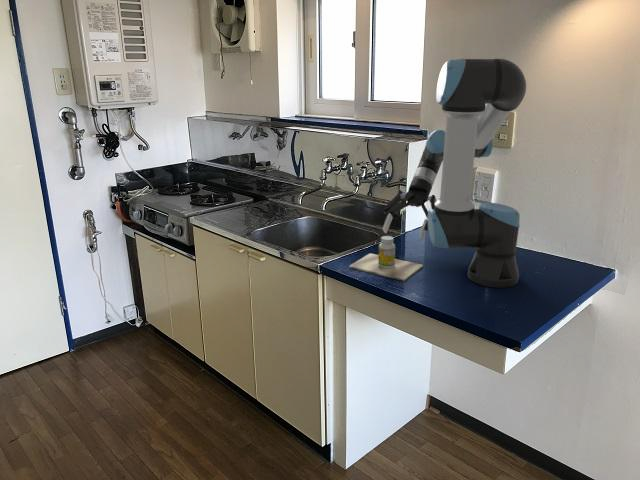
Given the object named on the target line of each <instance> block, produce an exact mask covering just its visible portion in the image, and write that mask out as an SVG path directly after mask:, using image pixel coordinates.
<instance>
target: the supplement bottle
mask: <svg viewBox="0 0 640 480" xmlns="http://www.w3.org/2000/svg"><path fill="white" fill-rule="evenodd" d="M380 241H381V242H380V243H379V244H378V255H379V259H378V265H379V266H380V267H383V268H392V267H394V265H395V259H396V244H395V243H394V237H393V236H390V235H383V236H381V237H380Z"/></svg>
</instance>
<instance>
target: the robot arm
mask: <svg viewBox="0 0 640 480" xmlns="http://www.w3.org/2000/svg"><path fill="white" fill-rule="evenodd" d="M526 92H527V81H526V77H525V74H524V73H523V71H522V69H521V68H520V67H519V66H518V65H517V64H515V62H513V61H511V60H509V59H504V58H459V59H457V58H456V59H450V60H449V59H448V60H447V61H445V63H444V64H443V65H442V67H441V69H440V72H439V76H438V79H437V84H436V90H435V94H436V96H435V100H436V103H437V105H440V106H441V111H442V113H443V114H444V115H445V116H446V118H445V119H446V120H445V121H446V122H445V130H444V129H436V130H434V131H433V132H431V133H430V135H429V136H428V138H427V139H426V143H425V147H424V149H423V152H422V155H421V157H420V159H419V163H418V164H417V167H416V170H415V172H414V174H413V177H412V180H411V182H410V184H409V187H408V190H407V192H404V191H402V190H401V189H400V190H398V192H397V194H396V195H395V196H394V197H393V198H392V199H391V200H390V201H389V202H388V203H387V204H386V205H385V206H384V207H383V208H382V211H383V213H384V214H385V215H384V216H385V217H384V219H383V222H384V224H383V226H382V228H381V229H382V231H383V233H385V234H387V233H388V230H389V229H390V226H391V224H392V223H391V222H392V220H393V219H394V217H393V216H394V215H395V214H396V213H399V212H400V211H401V210H403V209H404V208H406V207H416V208H419V207H421V209H422V210H423V213H424V214H425V216H426V218H424V219H423V220H424V221H423V223H422V225H421V228H420V231H419V233H418V237H419V239H420V240H422V241H423V240H424V238H425V234H426V232H427V231H428V233H429V235H428V236H429V239H430V241H431V243H432V245H433V246H434V247H436V248H440V249H441V248H442V249H444V248H445V249H459V248H460V249H461V248H462V249H467V248H475V253H474V255H473V258H472V260H471V262H470V263H469V266H468V268H467V278H468V279H469V280H470V281H472V282H473V283H475V284H477V285H480V286H484V287H487V288H488V287H489V288H498V289H501V288H510V287H513V286H517V284H518V282H519V278H520V272H519V268H518V264H517V259H516V252H517V246H518V237H519V230H520V229H519V228H520V226H521V225H520V212H519V211H518V210H517V209H515V208H514V207H512V206H509V205H505V204H501V203H496V202H482V203H480V205H479V206H478V208H475V203H473V201H472V200H471V192H472V183H473V174H474V164H475V163H474V161H475V158H478V159H480V158H487V157H490V156H491V155H492V151H493V148H494V144H493V142H494V140H493V138H494V137H495V135H496V133H497V132H498V131H499V129H500V127H501V126H502V125H503V123H504V122H505V120H506V119H507V117H508V115H509V114H510V112H512V111H514V110H516V109H518V107H519V106H520V105H521V103H522V102H523V100H524V98H525V95H526ZM441 166H442V167H441ZM440 168H442V171H441V180H440V181H441V182H440V183H441V184H440V194H439V195H440V196H439V198H438V199H437V197H436V195H435V194H432V195H431V196H430V193H431V191H432V189H433V186H434V184H435V181H436V178H437V177H438V176H437V175H438V173H439V170H440ZM428 201H429V203H430V207H431V209H429V210H428V209H427V207H426V203H427V202H428Z"/></svg>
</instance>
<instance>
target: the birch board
mask: <svg viewBox="0 0 640 480" xmlns="http://www.w3.org/2000/svg"><path fill="white" fill-rule="evenodd" d="M378 259H379V254H376V253H375V254H374V253H368V254H365V255H364V256H363V257H362V258H360V259H358V260H357V261H355V262H353V263H351V264H350V265H349V266H348V267H349V268H350V269H354V270H357V271H358V270H359V271H361V272H365V273H369V274H374V275H379V276H382V277H385V278H386V277H387V278H390V279H395V280H398V281H403V282H405V281H406V280H408V279H410V277H412V276H413V275H414V274H415V273H417V272H418V271H419V270H420V269H422V268H423V267H424V264H420V263H416V262H412V261H406V260H403V259H398V258H395V265H394V267H392V268H383V267H380V266H379V265H378Z"/></svg>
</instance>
